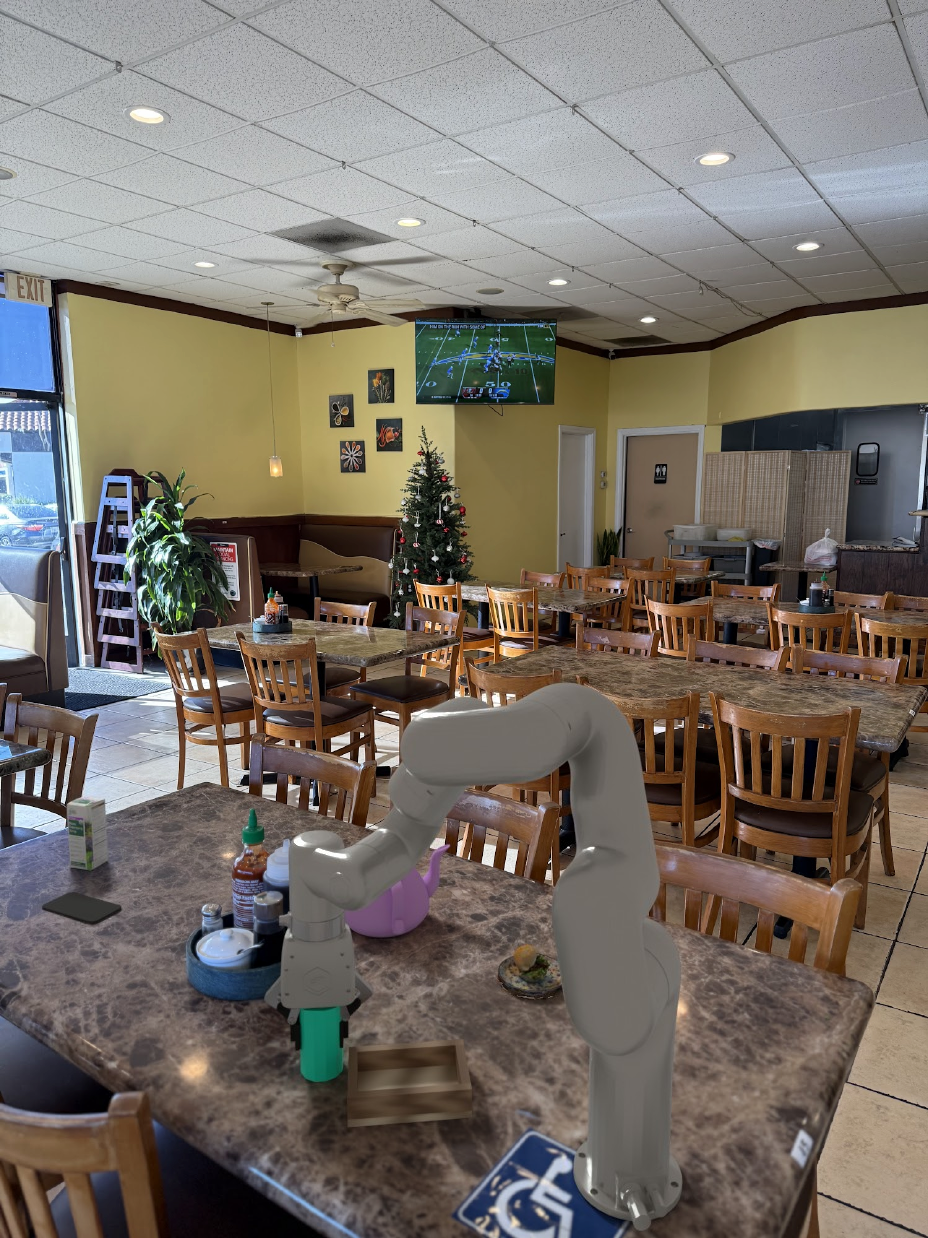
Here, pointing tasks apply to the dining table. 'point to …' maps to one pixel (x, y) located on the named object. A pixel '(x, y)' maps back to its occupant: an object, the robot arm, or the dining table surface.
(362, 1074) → the tray
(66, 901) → the phone
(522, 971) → the plate of food
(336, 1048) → the candle
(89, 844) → the syrup box
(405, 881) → the teapot
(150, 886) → the dining table surface
